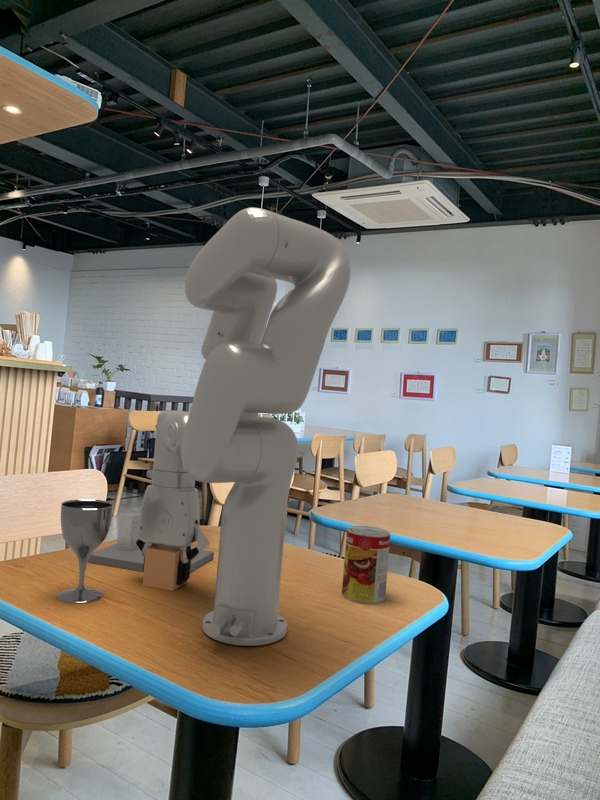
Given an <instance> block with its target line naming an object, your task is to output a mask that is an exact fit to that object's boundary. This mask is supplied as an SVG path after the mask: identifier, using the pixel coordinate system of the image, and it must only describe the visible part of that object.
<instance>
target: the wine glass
mask: <svg viewBox="0 0 600 800" xmlns="http://www.w3.org/2000/svg"><path fill="white" fill-rule="evenodd" d="M113 508H114V503H112V502H110V501H107V500H101V499H90V498H89V499H87V498H86V499H85V498H83V499H80V498H79V499H69V500H65V501H63V502H61V504H60V529H61V533H62V534H61V535H62V537H63V540H64V541H65V542H66V544H67V545H68V547H69V548H70V549H71V550H72V551H73V553H74V554H75V556H76V559H77V560H78V561H77V562H78V572H79V573H78V574H79V576H78V586H77V588H70V589H65V590H62V591H60V592H58V594H57V595H56V598H57V600H59V601H61V602H64V603H68V604H86V603H91V602H92V603H93V602H95V601H98V600H100V599H102V598H103V597H104V593H103V592H102V591H101V590H99V589H96V588H91V587H85V583H84V582H85V574H86V571H87V570H86V569H87V564H88V562H87V561H88V559H89V557H90V556H91V554H92V553H93V552H96V551H97V549H98V547H100V546H101V545H102V544H103V542H105V540H106V538H107V537H108V534H109V531H110V527H111V525H112V518H113Z"/></svg>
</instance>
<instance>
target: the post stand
mask: <svg viewBox="0 0 600 800" xmlns="http://www.w3.org/2000/svg"><path fill="white" fill-rule="evenodd" d="M191 545H193V543H191ZM193 548H194V547H192V549H193ZM214 555H215V551H212V550H205V549H204V550H202V551H201V552H200V553H199V554H198V555H197V556H195V557H194V558H193V559H192V560H191V567H190V574H191V573H193V572H194V571H195V570H197V569H199V568H200V567H203V566H204V565H206V564H207V563H209V562H211V561H212V560H214V558H215V556H214ZM87 563H89V564H96V565H100V566H106V567H107V566H109V567H114V568H120V569H126V570H131V571H136V572H142V573H144V572H143V564H144V556H142V554H141V550H140V549H139V547H138V548H137V549H134V550H132V551H123V550H117V543H114V544H112V545H109V546H107V547H103V548H101V549H98V550H95V551H94V552H93V553H92V554H91V556H90V557H89V559H88V561H87Z"/></svg>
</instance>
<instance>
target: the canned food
mask: <svg viewBox="0 0 600 800" xmlns="http://www.w3.org/2000/svg"><path fill="white" fill-rule="evenodd" d="M345 537H346V538H345V551H344V562H343V563H344V564H343V573H342V574H343V575H342V576H343V577H342V585H341V586H342V587H341V595H342V597H343V598H344V599H346V600H348V601H351V602H354V603H357V604H364V605H365V604H366V605H375V604H380V603H383V602H384V601H386V596H387V595H386V594H387V593H386V592H387V582H388V580H387V579H388V569H389V568H388V567H389V554H390V542H391V532H390V531H389V530H387V529H383V528H381V527H377V526H371V525H369V526H367V525H352V526H351V525H350V526H348V527H347V528H346V536H345Z"/></svg>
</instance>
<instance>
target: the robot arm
mask: <svg viewBox="0 0 600 800" xmlns="http://www.w3.org/2000/svg"><path fill="white" fill-rule="evenodd" d="M350 279H351V263H350V258H349V255H348V252H347V251H346V248H345V247H344V245H343V244H342V243H341V241H340V240H339V239H338V238H336V237H335V236H334V235H333V234H331V233H329V232H328V231H325V230H323V229H322V228H319V227H317V226H314V225H311V224H309V223H306V222H304V221H300V220H297V219H293V218H290V217H288V216H285V215H282V214H280V213H276V212H274V211H271V210H267V209H264V208H260V207H247V208H244V209H241V210H239V211H238V212H237V213H235V214H234V215H233V216H231V218H230V219H228V220H227V222H225V224H224V225H223V226H221V228H220V229H219V230H218V231H216V233H215V234H213V236H211V238H210V239H209V240H208V241H207V243H205V245H204V246H203V247H201V249H200V250H199V252H198V253H197V254H196V256H195V258H194V259H193V260H192V262H191V264H190V266H189V268H188V271H187V273H186V277H185V281H184V293H185V296H186V299H187V301H188V302H189V303H190V304H191V305H192V306H193V307H195V308H199V309H201V310H206V311H207V310H209V311H213V312H212V315H211V317H210V321H209V324H208V327H207V331H206V334H205V337H204V340H203V341H202V342H203V343H202V345H201V351H200V352H201V356H202V358H203V359H204V360H205V361H204V363H203V366H202V367H201V372H200V375H199V377H198V382H197V384H196V388H195V392H194V395H193V398H192V403H191V405H190V409H189V411H184V410H172V409H171V410H162V411H160V413H159V414H158V415H157V419H156V429H155V441H154V454H153V467H152V469H148V470H147V471H146V473H145V474H146V475H145V476H146V477H147V478H149V479H150V481H151V482H150V483H151V484H149V485H147V486H146V489H145V491H144V496H143V499H142V504H141V509H140V513H139V514H140V519H139V524H138V525H137V526H136V527H135V528H134V529H133V530H132V531H131V532H130V536H131V537H132V538H133V540H134V541H135V542H136V544H137V546H138V547H139V549H140V550H141V554H142V556H144V562H145V549H146V548H147V547H149V546H152V545H154V544H158V545H165V546H171V547H178V549H179V551H180V557H181V562H179V564H178V574H177V585H181V586H183V585H184V584H186V583H187V580H188V581H189V579H190V575H191V573H190V567H191V560H192V559H193V558H194V557H195V556H197V555H198V554H199V553H200V552H201V551H202V550H205V549H207V547H209V546H210V541H209V540H208V538H207V537H206V535H205V534H204V532H203V530H201V528H200V520H201V518H200V516H201V515H200V498H199V497H200V496H199V492H198V490H199V489H198V488H196V487H195V484H196V481H197V482H199V483H203V484H222V483H223V484H224V483H233V485H232V487H231V488H230V490H229V492H228V494H227V495H226V498H225V500H224V503H223V506H222V510H221V518H220V519H221V521H220V531H219V544H218V555H217V567H216V568H217V570H216V582H215V594H214V607H213V610H212V611H209V612H208V613H207V614H205V615H204V617H203V618H202V625H201V627H202V628H201V629H202V631H203V632H204V634H205V635H206V636H208V637H209V638H210V639H212V640H215V641H217V642H220V643H222V644H223V643H224V644H228V645H232V646H233V645H234V646H240V647H241V646H243V647H244V646H245V647H246V646H247V647H250V646H251V647H253V646H254V647H257V646H265V645H269V644H272V643H275V642H278V641H280V640H282V639H283V638H284V637H285V636H286V634H287V632H288V622H287V620H286V619H285V618H284V617H283V616H282V615H280V614H279V605H280V593H281V592H280V591H281V580H282V569H283V568H282V567H283V556H284V555H283V554H284V543H285V533H286V531H285V530H286V529H285V528H286V522H287V521H286V519H287V508H288V500H289V492H290V488H291V484H292V480H293V476H294V473H295V468H296V466H297V461H298V455H299V444H298V438H297V435H296V434H295V431H294V430H293V429H292V428H291V427H290V426H289V425H288V424H287V423H285V422H284V421H282V420H280V419H278V418H274V417H268V416H259V414H269V415H270V414H271V415H275V414H276V415H283V414H291V413H294V412H296V411H298V410H299V409H300V408H301V407H303V404H304V403H305V401H306V399H307V397H308V393H309V391H310V388H311V385H312V383H313V380H314V377H315V374H316V370H317V367H318V365H319V362H320V359H321V355H322V352H323V349H324V347H325V343H326V339H327V336H328V334H329V331H330V328H331V327H332V324H333V322H334V320H335V319H336V316H337V313H339V312H338V311H339V309H340V307H341V306H342V303H343V301H344V299H345V296H346V294H347V291H348V289H349V286H350ZM277 280H279V281H282V282H283V281H284V282H288V283H291V284H293V285H294V287H293V289H291V290H289V291H288V292H287V293H286V294H285V295H284V296H282V298H281V299H280V300H279V301H278V302H277V304H276V305H275V306H274V303H275V301H276V297H277V292H278V282H277ZM273 306H274V308H273ZM196 542H197V545H196V546H195V547H193V546H192V545H193V543H196ZM191 543H192V545H191ZM192 548H193V549H192ZM142 573H144V564H143V572H142ZM185 582H186V583H185ZM182 584H183V585H182Z"/></svg>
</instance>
